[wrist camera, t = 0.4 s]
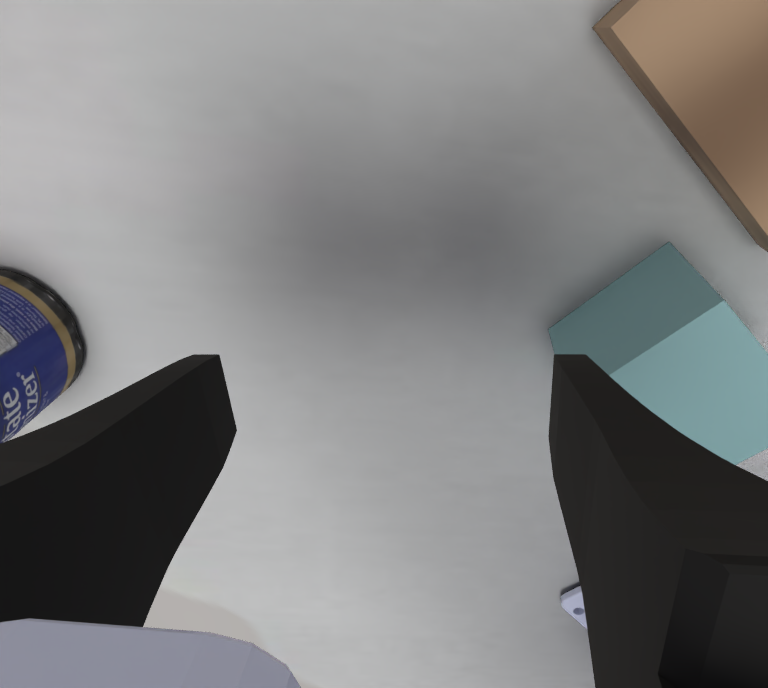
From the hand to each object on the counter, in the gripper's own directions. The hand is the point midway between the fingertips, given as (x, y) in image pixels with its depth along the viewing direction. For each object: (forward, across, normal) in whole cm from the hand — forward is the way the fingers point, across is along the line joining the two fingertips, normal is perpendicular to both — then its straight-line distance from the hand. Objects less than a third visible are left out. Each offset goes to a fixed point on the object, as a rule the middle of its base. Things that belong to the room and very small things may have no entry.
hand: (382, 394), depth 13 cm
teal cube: (+10, -8, +4) cm, 13 cm away
